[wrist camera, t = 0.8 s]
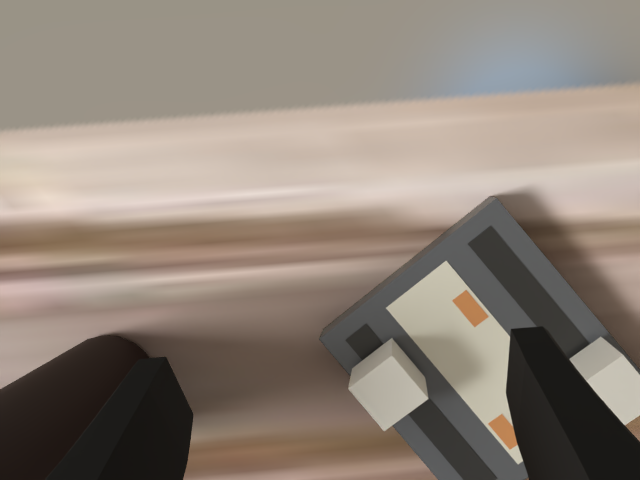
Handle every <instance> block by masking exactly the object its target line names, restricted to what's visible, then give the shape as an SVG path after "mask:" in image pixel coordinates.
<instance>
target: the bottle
mask: <svg viewBox="0 0 640 480" xmlns="http://www.w3.org/2000/svg"><path fill="white" fill-rule="evenodd" d="M147 358H149V357H148V356H147V354H146V353H145V352H144V351H143V350H142V349H140V348H139V347H138V346H137V345H136V344H134V343H133V342H130V341H128V340H126V339H123V338H121V337H115V336H99V337H95V338H91V339H87V340H86V341H84V342H82V343H80V344H79V345H77V346H75V347H73V348H72V349H70V350H68V351H66V352H65V353H63V354H61V355H59V356H58V357H56V358H54V359H52V360H51V361H49V362H47V363H46V364H44V365H42V366H40V367H39V368H37V369H35V370H33V371H32V372H30V373H28V374H26V375H25V376H23V377H21V378H19V379H18V380H16V381H14V382H12V383H11V384H9V385H7V386H5V387H4V388H2V389H0V480H45V479H46V478H47V477H48V476H49V474H50V473H51V472H52V471H53V470H54V468H55V467H56V466H57V465H58V464H59V463H60V461H61V460H62V459H63V458H64V457H65V455H66V454H67V453H68V452H69V450H70V449H71V448H72V446H73V445H74V444H75V443H76V441H77V440H78V439H79V437H80V436H81V435H82V434H83V432H84V431H85V430H86V428H87V427H88V426H89V425H90V423H91V422H92V421H93V419H94V418H95V417H96V415H97V414H98V413H99V411H100V410H101V409H102V408H103V406H104V405H105V404H106V402H107V401H108V400H109V398H110V397H111V395H112V394H113V393H114V391H115V390H116V389H117V387H118V386H119V385H120V383H121V382H122V381H123V379H124V378H125V377H126V375H127V374H128V373H129V371H130V370H131V369H132V367H133V366H134V365H135V364H136V362H137V361H138V360H139V359H147Z"/></svg>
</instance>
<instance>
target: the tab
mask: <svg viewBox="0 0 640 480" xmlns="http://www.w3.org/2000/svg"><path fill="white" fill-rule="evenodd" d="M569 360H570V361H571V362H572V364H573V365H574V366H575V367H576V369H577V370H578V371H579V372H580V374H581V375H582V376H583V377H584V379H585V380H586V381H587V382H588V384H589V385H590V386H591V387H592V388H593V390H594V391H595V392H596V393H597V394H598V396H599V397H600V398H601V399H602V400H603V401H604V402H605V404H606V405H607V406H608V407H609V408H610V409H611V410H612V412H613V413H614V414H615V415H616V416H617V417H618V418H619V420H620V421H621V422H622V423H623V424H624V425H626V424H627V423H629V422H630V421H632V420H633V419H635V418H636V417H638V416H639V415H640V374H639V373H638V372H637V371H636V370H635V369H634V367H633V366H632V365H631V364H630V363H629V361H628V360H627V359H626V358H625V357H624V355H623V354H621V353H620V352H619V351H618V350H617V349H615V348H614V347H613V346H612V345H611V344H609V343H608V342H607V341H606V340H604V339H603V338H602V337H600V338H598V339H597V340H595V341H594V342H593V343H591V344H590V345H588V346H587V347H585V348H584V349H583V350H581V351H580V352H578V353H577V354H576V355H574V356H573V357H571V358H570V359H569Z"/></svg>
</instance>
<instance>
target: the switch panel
mask: <svg viewBox="0 0 640 480" xmlns="http://www.w3.org/2000/svg"><path fill="white" fill-rule="evenodd" d="M539 326H543V327H544V328H545V329H547V330H548V331H549V333H550V334H551V336H552V337H553V338H554V340H555V341H556V343H557V344H558V345H559V347H560V348H561V349H562V351H563V352H564V353H565V355H566V356H567V357H568V359H570V358H571V357H573V356H574V355H576V354H577V353H578V352H580V351H581V350H583V349H584V348H585V347H587V346H588V345H590V344H591V343H593V342H594V341H595V340H597V339H598V338H600V337H602V338H603V339H604V340H606V341H607V342H608V343H609V344H611V345H612V346H613V347H614V348H615V349H617V350H618V351H619V352H620V353H621V354H623V355H624V357H625V358H626V359H627V360H628V361H629V363H630V364H631V365H632V366H633V367H634V369H635V370H636V371H637V372H638V373H639V374H640V369H639V368H638V367H637V366H636V365H635V363H634V362H633V361H632V360H631V359H630V357H629V356H628V355H627V354H626V353H625V351H624V350H623V349H622V348H621V347H620V345H619V344H618V343H617V342H616V341H615V339H614V338H613V337H612V336H611V335H610V333H609V332H608V331H607V330H606V329H605V327H604V326H603V325H602V324H601V323H600V321H599V320H598V319H597V318H596V317H595V315H594V314H593V313H592V312H591V311H590V309H589V308H588V307H587V306H586V305H585V303H584V302H583V301H582V300H581V299H580V297H579V296H578V295H577V294H576V293H575V291H574V290H573V289H572V288H571V287H570V285H569V284H568V283H567V282H566V281H565V279H564V278H563V277H562V276H561V275H560V273H559V272H558V271H557V270H556V269H555V267H554V266H553V265H552V264H551V263H550V261H549V260H548V259H547V258H546V257H545V255H544V254H543V253H542V252H541V251H540V249H539V248H538V247H537V246H536V245H535V243H534V242H533V241H532V240H531V239H530V237H529V236H528V235H527V234H526V233H525V231H524V230H523V229H522V228H521V227H520V225H519V224H518V223H517V222H516V221H515V219H514V218H513V217H512V216H511V215H510V213H509V212H508V211H507V210H506V209H505V207H504V206H503V205H502V204H501V203H500V201H499V200H498V199H497V198H495V197H492V196H490V197H488V198H487V199H486V200H485V201H483V202H482V203H481V204H480V205H478V206H477V207H476V208H475V209H473V210H472V211H471V212H470V213H468V214H467V215H466V216H465V217H463V218H462V219H461V220H459V221H458V222H457V223H456V224H454V225H453V226H452V227H451V228H449V229H448V230H447V231H446V232H444V233H443V234H442V235H441V236H439V237H438V238H437V239H436V240H434V241H433V242H432V243H431V244H429V245H428V246H427V247H426V248H424V249H423V250H422V251H421V252H419V253H418V254H417V255H416V256H414V257H413V258H412V259H411V260H409V261H408V262H407V263H406V264H404V265H403V266H402V267H401V268H399V269H398V270H397V271H396V272H394V273H393V274H392V275H391V276H389V277H388V278H387V279H386V280H384V281H383V282H382V283H381V284H379V285H378V286H377V287H376V288H374V289H373V290H372V291H370V292H369V293H368V294H367V295H365V296H364V297H363V298H362V299H360V300H359V301H358V302H357V303H355V304H354V305H353V306H352V307H350V308H349V309H348V310H347V311H345V312H344V313H343V314H342V315H340V316H339V317H338V318H337V319H335V320H334V321H333V322H332V323H330V324H329V325H328V326H327V327H325V328H324V329H323V331H322V333H321V336H320V338H319V340H320V341H321V342H322V343H323V344H324V346H325V347H326V348H327V349H328V350H329V351H330V353H331V354H332V355H333V356H334V357H335V359H336V360H337V361H338V362H339V363H340V364H341V366H342V367H343V368H344V369H345V370H346V372H347V373H348V374H349V375H350V376H351V371H352V368H353V367H355V366H356V365H357V364H359V363H360V362H361V361H362V360H364V359H365V358H366V357H368V356H369V355H370V354H372V353H373V352H374V351H375V350H377V349H378V348H379V347H381V346H382V345H383V344H385V343H386V342H387V341H388V340H390V339H391V338H392V339H393V340H394V341H395V342H396V343H397V345H398V346H399V347H400V348H401V349H402V350H403V352H404V353H405V354H406V355H407V356H408V358H409V359H410V360H411V361H412V362H413V364H414V365H415V366H416V367H417V368H418V369H419V371H420V372H421V373H422V374H423V375H424V377H425V379H426V386H427V392H428V398H429V399H428V400H426V401H425V402H424V403H422V404H421V405H419V406H418V407H417V408H415V409H414V410H413V411H411V412H410V413H409V414H407V415H406V416H404V417H403V418H402V419H400V420H399V421H398V422H396V423H395V424H394V425H392V426H393V427H394V428H395V429H396V430H397V432H398V433H399V434H400V435H401V436H402V438H403V439H404V440H405V441H406V442H407V443H408V445H409V446H410V447H411V448H412V449H413V450H414V452H415V453H416V454H417V455H418V456H419V458H420V459H421V460H422V461H423V462H424V463H425V465H426V466H427V467H428V468H429V469H430V471H431V472H432V473H433V474H434V475H435V476H436V478H437V479H438V480H525V479H526V478H528V474H527V471H526V468H525V465H524V462H523V459H522V456H521V453H520V450H519V447H518V444H517V441H516V437H515V433H514V428H513V424H512V420H511V415H510V410H509V406H508V401H507V397H506V383H507V370H508V358H509V345H510V333H511V329H515V328H527V327H539Z"/></svg>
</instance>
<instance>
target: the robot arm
mask: <svg viewBox="0 0 640 480" xmlns="http://www.w3.org/2000/svg"><path fill="white" fill-rule="evenodd" d="M506 397H507V401H508V406H509V410H510V415H511V420H512V424H513V428H514V433H515V437H516V441H517V444H518V447H519V450H520V453H521V456H522V459H523V462H524V465H525V468H526V471H527V474H528V477H529V480H640V441H639V440H638V439H637V438H636V437H635V436H634V435H633V434H632V433H631V432H630V431H629V430H628V429H627V427H626V426H625V425H624V424H623V423H622V422H621V421H620V420H619V418H618V417H617V416H616V415H615V414H614V413H613V412H612V410H611V409H610V408H609V407H608V406H607V405H606V404H605V402H604V401H603V400H602V399H601V398H600V397H599V396H598V394H597V393H596V392H595V391H594V390H593V388H592V387H591V386H590V385H589V384H588V382H587V381H586V380H585V379H584V377H583V376H582V375H581V374H580V372H579V371H578V370H577V369H576V367H575V366H574V365H573V364H572V362H571V361H570V360H569V359H568V357H567V356H566V355H565V353H564V352H563V351H562V349H561V348H560V347H559V345H558V344H557V343H556V341H555V340H554V338H553V337H552V336H551V334H550V333H549V331H548V330H547V329H545V328H544V327H543V326H539V327H527V328H515V329H511V333H510V345H509V358H508V370H507V383H506ZM192 422H193V412H192V410H191V408H190V406H189V404H188V402H187V400H186V398H185V396H184V394H183V392H182V389H181V387H180V385H179V383H178V381H177V379H176V377H175V375H174V373H173V371H172V369H171V366H170V364H169V362H168V360H167V358H166V357H159V358H147V359H139V360H138V361H137V362H136V364H135V365H134V366H133V367H132V369H131V370H130V371H129V373H128V374H127V375H126V377H125V378H124V379H123V381H122V382H121V383H120V385H119V386H118V387H117V389H116V390H115V391H114V393H113V394H112V395H111V397H110V398H109V400H108V401H107V402H106V404H105V405H104V406H103V408H102V409H101V410H100V411H99V413H98V414H97V415H96V417H95V418H94V419H93V421H92V422H91V423H90V425H89V426H88V427H87V428H86V430H85V431H84V432H83V434H82V435H81V436H80V437H79V439H78V440H77V441H76V443H75V444H74V445H73V446H72V448H71V449H70V450H69V452H68V453H67V454H66V455H65V457H64V458H63V459H62V460H61V461H60V463H59V464H58V465H57V466H56V467H55V468H54V470H53V471H52V472H51V473H50V474H49V476H48V477H47V478H46V479H45V480H183V477H184V473H185V469H186V465H187V461H188V454H189V447H190V440H191V431H192Z"/></svg>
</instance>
